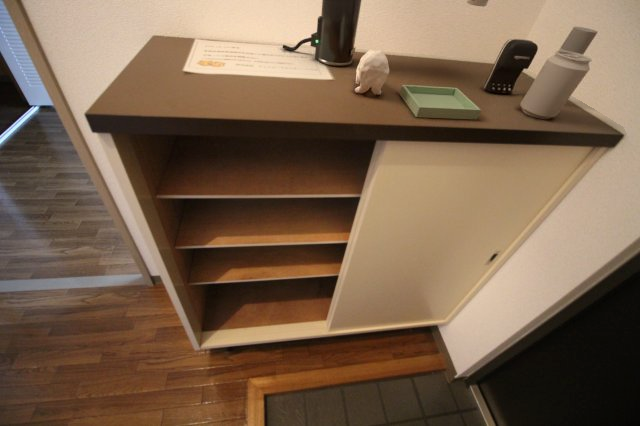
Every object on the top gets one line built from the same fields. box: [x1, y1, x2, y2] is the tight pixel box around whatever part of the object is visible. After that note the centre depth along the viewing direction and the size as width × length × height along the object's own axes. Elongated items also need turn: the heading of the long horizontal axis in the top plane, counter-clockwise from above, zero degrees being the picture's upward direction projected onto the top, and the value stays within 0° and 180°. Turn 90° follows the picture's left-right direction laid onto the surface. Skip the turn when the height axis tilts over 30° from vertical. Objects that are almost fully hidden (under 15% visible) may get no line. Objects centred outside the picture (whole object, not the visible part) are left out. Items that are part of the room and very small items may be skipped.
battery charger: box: [483, 38, 539, 95], centre depth 67 cm, size 7×4×11 cm, turn 92°
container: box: [558, 26, 598, 55], centre depth 65 cm, size 5×5×15 cm
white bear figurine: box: [354, 49, 390, 96], centre depth 62 cm, size 6×8×12 cm
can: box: [520, 50, 593, 120], centre depth 60 cm, size 8×8×12 cm
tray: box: [399, 84, 482, 121], centre depth 60 cm, size 13×11×2 cm
